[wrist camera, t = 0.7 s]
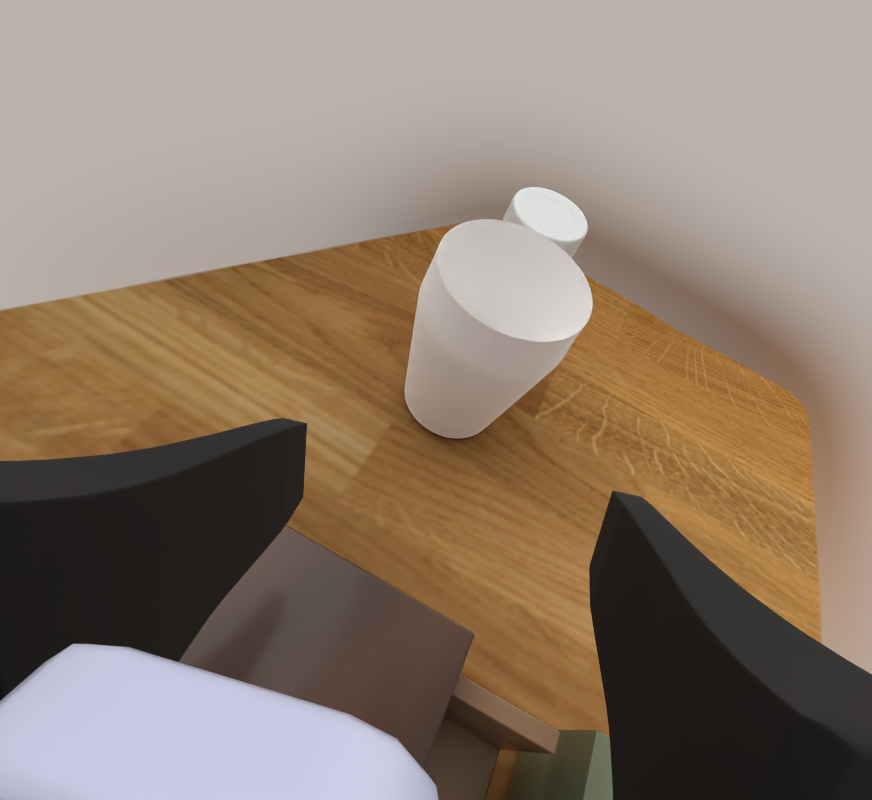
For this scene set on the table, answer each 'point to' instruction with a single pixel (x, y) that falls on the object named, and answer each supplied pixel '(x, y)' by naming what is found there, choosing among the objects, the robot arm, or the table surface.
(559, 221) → the pill bottle
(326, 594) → the cabinet
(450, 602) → the table surface
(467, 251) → the cup
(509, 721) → the drawer
